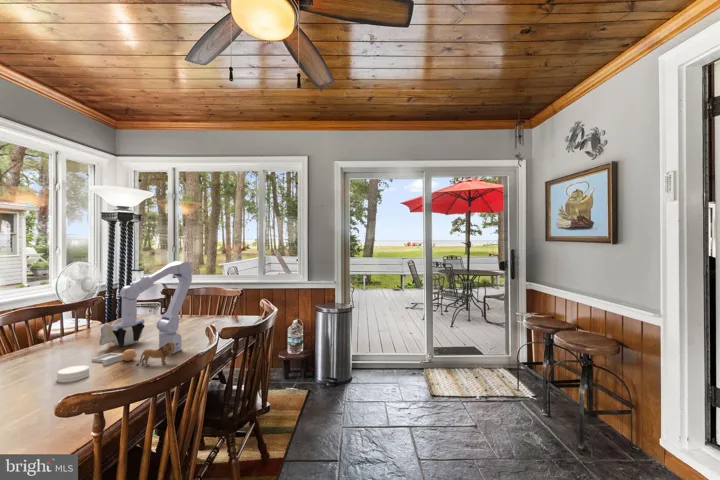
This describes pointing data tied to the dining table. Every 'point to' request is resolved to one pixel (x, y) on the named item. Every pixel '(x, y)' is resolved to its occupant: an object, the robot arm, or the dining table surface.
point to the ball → (128, 354)
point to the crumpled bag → (109, 336)
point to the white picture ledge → (113, 359)
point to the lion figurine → (158, 353)
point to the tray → (103, 357)
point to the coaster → (73, 373)
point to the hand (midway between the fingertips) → (128, 343)
